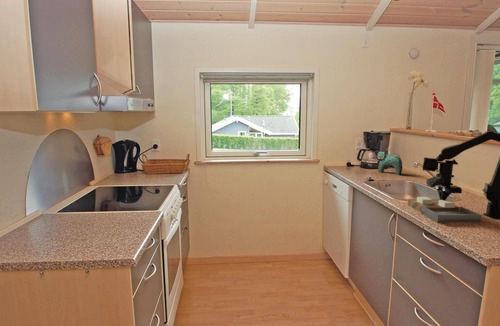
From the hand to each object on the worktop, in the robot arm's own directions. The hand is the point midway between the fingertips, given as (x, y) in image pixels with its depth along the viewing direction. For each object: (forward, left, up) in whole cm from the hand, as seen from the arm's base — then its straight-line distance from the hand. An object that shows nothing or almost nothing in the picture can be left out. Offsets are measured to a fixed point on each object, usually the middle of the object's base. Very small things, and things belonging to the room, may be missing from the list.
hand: (442, 202), depth 160 cm
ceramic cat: (+95, -18, -4) cm, 97 cm away
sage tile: (+2, +8, -1) cm, 8 cm away
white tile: (-4, 0, -1) cm, 4 cm away
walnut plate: (+1, +4, -4) cm, 6 cm away
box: (-12, +4, -4) cm, 14 cm away
